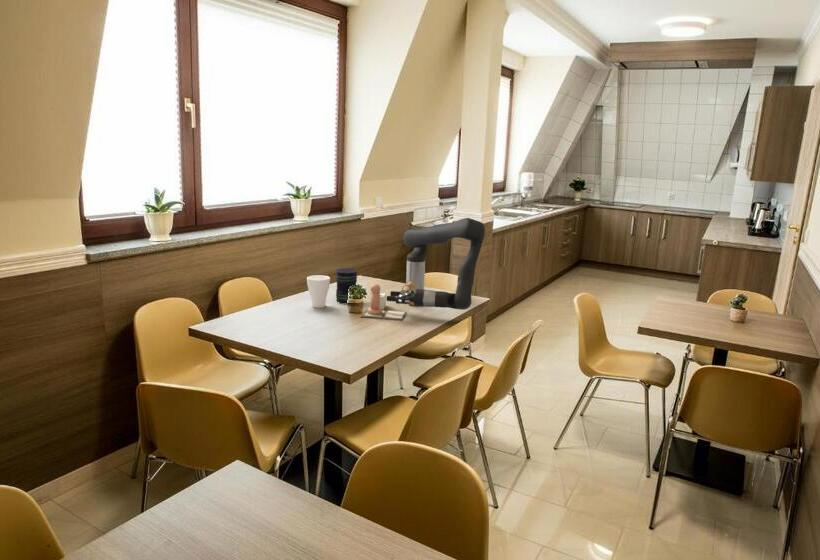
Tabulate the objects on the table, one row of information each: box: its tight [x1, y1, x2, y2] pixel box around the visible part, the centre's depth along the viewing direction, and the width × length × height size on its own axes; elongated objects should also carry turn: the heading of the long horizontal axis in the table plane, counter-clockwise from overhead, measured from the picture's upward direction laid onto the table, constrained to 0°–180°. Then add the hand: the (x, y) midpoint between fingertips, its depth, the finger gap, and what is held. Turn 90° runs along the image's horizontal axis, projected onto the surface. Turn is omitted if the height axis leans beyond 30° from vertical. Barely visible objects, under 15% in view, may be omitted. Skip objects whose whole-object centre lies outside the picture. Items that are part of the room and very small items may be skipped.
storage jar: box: [335, 268, 358, 304], centre depth 282 cm, size 10×10×15 cm
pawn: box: [367, 283, 383, 315], centre depth 261 cm, size 6×6×13 cm
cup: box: [306, 274, 331, 309], centre depth 272 cm, size 10×10×14 cm
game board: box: [360, 308, 407, 321], centre depth 262 cm, size 12×18×1 cm, turn 81°
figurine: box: [401, 281, 418, 306], centre depth 278 cm, size 8×6×12 cm
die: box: [369, 292, 387, 310], centre depth 274 cm, size 6×6×6 cm
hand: (388, 295), depth 260 cm, fingers open, 8 cm apart
